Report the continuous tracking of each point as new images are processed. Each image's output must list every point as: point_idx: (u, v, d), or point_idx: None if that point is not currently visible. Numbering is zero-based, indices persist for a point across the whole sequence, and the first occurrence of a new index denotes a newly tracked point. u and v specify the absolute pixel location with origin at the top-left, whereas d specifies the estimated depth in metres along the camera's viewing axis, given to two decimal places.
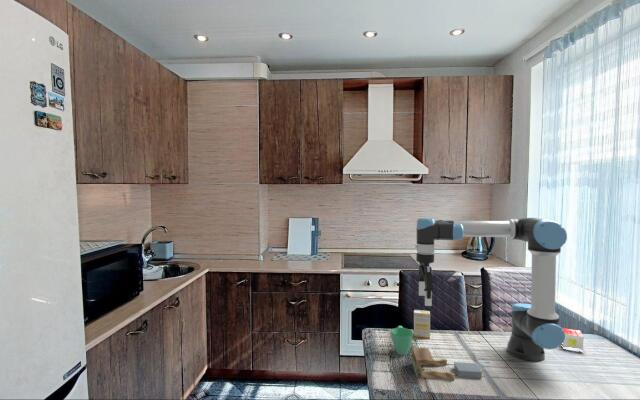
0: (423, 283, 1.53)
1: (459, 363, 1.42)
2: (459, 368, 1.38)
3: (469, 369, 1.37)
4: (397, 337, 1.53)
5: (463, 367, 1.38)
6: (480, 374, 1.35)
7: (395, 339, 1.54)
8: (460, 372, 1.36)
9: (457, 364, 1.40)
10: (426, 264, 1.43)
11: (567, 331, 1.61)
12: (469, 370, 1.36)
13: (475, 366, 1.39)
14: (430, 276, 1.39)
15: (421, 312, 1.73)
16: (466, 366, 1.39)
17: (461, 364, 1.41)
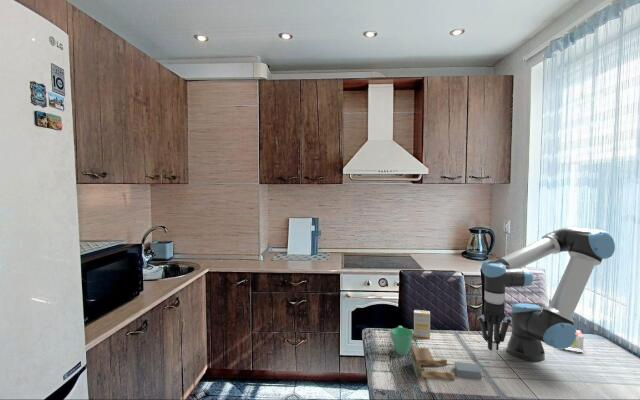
0: None
1: (460, 363, 1.42)
2: (458, 367, 1.38)
3: (468, 369, 1.37)
4: (397, 337, 1.53)
5: (463, 367, 1.38)
6: (480, 375, 1.34)
7: (395, 339, 1.54)
8: (459, 371, 1.36)
9: (457, 364, 1.41)
10: None
11: None
12: (468, 370, 1.36)
13: (475, 366, 1.39)
14: (481, 327, 1.37)
15: (421, 312, 1.73)
16: (466, 366, 1.39)
17: (461, 364, 1.41)
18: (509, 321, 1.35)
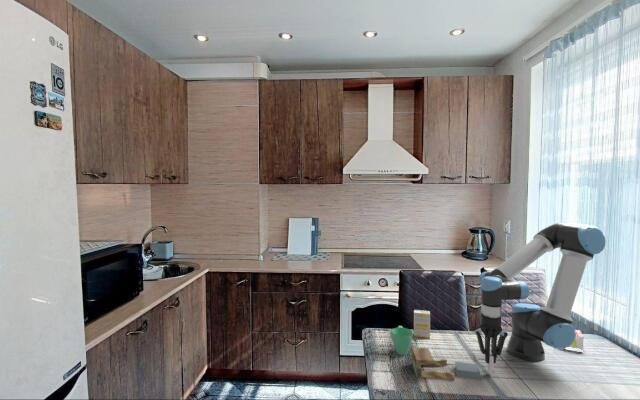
0: None
1: (460, 363, 1.42)
2: (458, 367, 1.38)
3: (468, 369, 1.37)
4: (397, 337, 1.53)
5: (462, 367, 1.38)
6: (479, 375, 1.34)
7: (395, 339, 1.54)
8: (458, 371, 1.36)
9: (457, 364, 1.41)
10: None
11: None
12: (468, 370, 1.36)
13: (476, 367, 1.39)
14: (479, 340, 1.37)
15: (421, 312, 1.73)
16: (466, 366, 1.39)
17: (462, 364, 1.41)
18: (506, 334, 1.35)
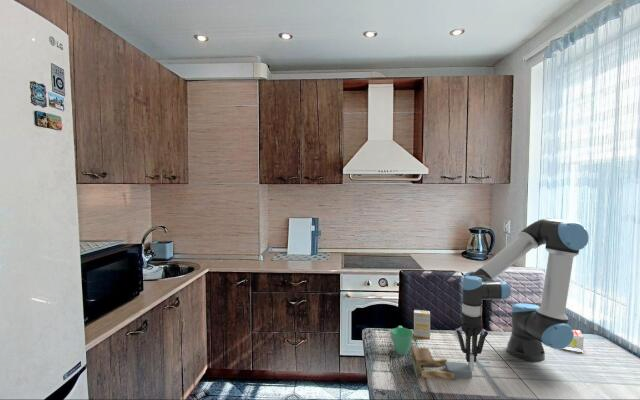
0: None
1: (450, 363, 1.41)
2: (450, 368, 1.37)
3: (459, 369, 1.37)
4: (397, 337, 1.53)
5: (454, 367, 1.38)
6: (471, 374, 1.35)
7: (395, 339, 1.54)
8: (450, 372, 1.36)
9: (448, 364, 1.40)
10: None
11: None
12: (459, 370, 1.36)
13: (466, 366, 1.39)
14: (459, 339, 1.38)
15: (421, 312, 1.73)
16: (456, 366, 1.39)
17: (452, 364, 1.41)
18: (486, 333, 1.36)
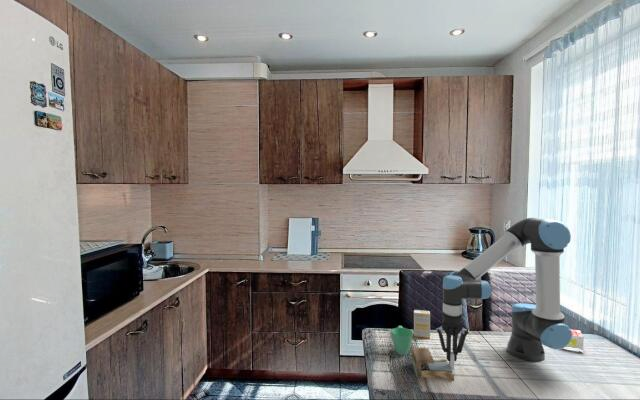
0: None
1: None
2: (430, 367, 1.38)
3: (440, 368, 1.38)
4: (397, 337, 1.53)
5: (434, 366, 1.39)
6: None
7: (395, 339, 1.54)
8: None
9: (429, 363, 1.41)
10: None
11: None
12: (440, 369, 1.37)
13: (447, 365, 1.40)
14: (440, 338, 1.39)
15: (421, 312, 1.73)
16: (437, 365, 1.40)
17: None
18: (466, 332, 1.37)
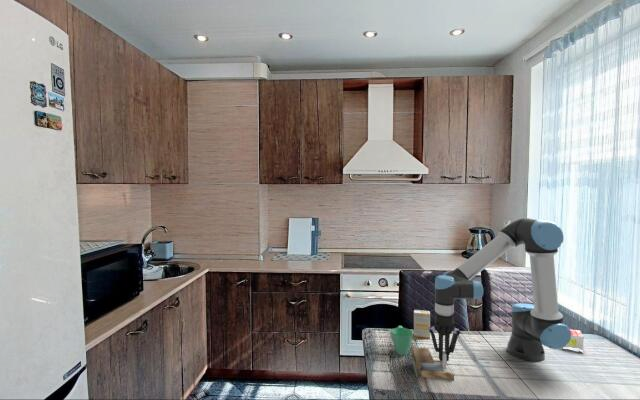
0: None
1: None
2: (423, 367, 1.38)
3: (432, 368, 1.38)
4: (397, 337, 1.53)
5: (427, 366, 1.39)
6: None
7: (395, 339, 1.54)
8: None
9: (421, 364, 1.41)
10: None
11: None
12: (432, 369, 1.37)
13: (439, 365, 1.40)
14: (432, 338, 1.39)
15: (421, 312, 1.73)
16: (430, 365, 1.40)
17: (425, 363, 1.42)
18: (458, 332, 1.38)
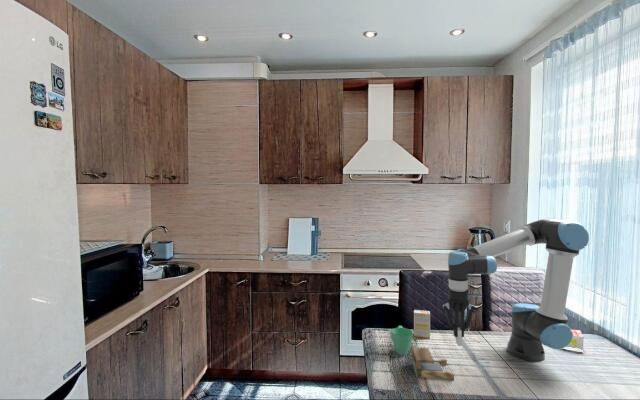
0: None
1: None
2: (421, 367, 1.38)
3: (431, 368, 1.38)
4: (397, 337, 1.53)
5: (425, 366, 1.39)
6: None
7: (395, 339, 1.54)
8: None
9: None
10: None
11: None
12: (431, 369, 1.37)
13: (437, 365, 1.40)
14: (446, 314, 1.38)
15: (421, 312, 1.73)
16: (428, 365, 1.40)
17: (424, 363, 1.42)
18: (473, 308, 1.37)
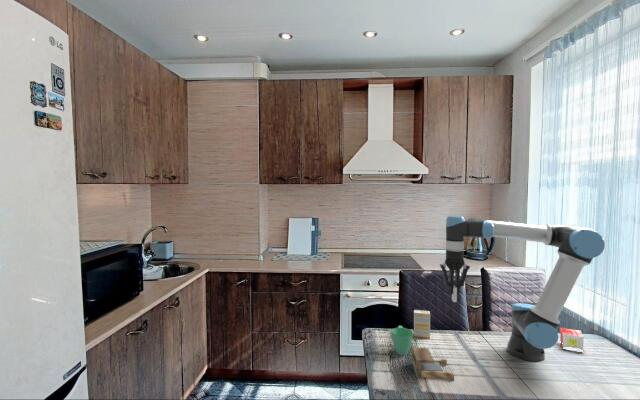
0: None
1: None
2: (421, 367, 1.38)
3: (431, 368, 1.38)
4: (397, 337, 1.53)
5: (425, 366, 1.39)
6: None
7: (395, 339, 1.54)
8: None
9: None
10: None
11: (567, 331, 1.61)
12: (431, 369, 1.37)
13: (437, 365, 1.40)
14: (443, 273, 1.50)
15: (421, 312, 1.73)
16: (428, 365, 1.40)
17: (424, 363, 1.42)
18: (468, 267, 1.48)
